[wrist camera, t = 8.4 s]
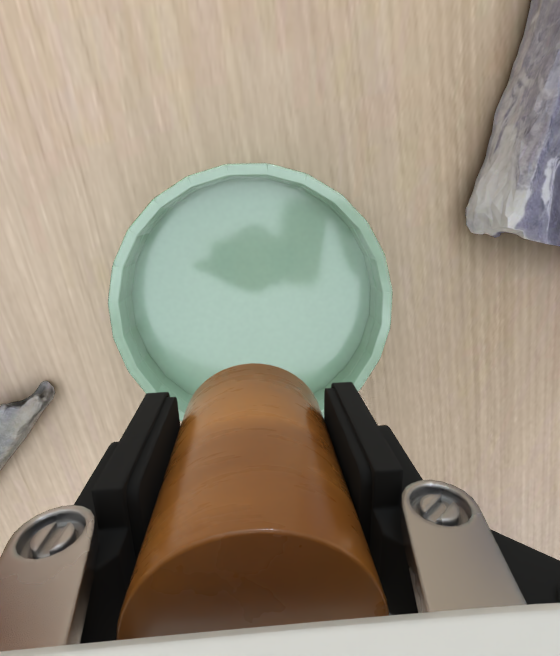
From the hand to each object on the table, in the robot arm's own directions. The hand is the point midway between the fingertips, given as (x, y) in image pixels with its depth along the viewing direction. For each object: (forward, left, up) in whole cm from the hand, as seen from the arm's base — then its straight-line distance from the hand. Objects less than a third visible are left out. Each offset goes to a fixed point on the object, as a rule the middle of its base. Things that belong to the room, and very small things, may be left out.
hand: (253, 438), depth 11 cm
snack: (0, 0, -1) cm, 1 cm away
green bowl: (0, 0, -16) cm, 16 cm away
